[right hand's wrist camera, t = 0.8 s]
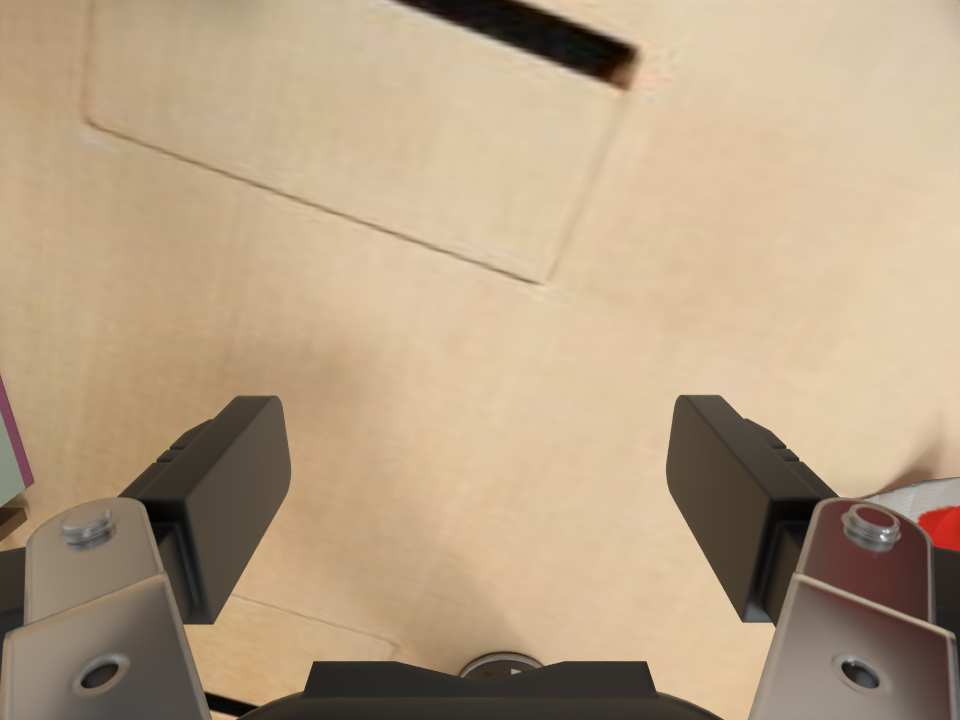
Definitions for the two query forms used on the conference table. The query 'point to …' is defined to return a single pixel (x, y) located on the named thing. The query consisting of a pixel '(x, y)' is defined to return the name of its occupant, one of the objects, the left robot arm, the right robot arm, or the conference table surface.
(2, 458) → the cabinet
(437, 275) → the conference table surface
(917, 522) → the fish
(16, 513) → the drawer
